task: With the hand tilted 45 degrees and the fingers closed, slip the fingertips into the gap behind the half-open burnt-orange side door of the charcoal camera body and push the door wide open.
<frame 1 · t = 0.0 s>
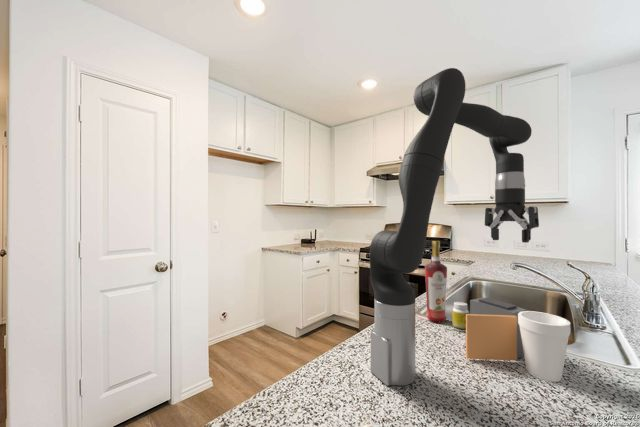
hand: (509, 241, 83), 29 cm above the countertop, tool pointing down, fingers open, 8 cm apart
supplement bottle: (460, 329, 89), on the countertop
liquor: (435, 320, 97), on the countertop
foam cup: (543, 374, 64), on the countertop
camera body: (497, 347, 76), on the countertop
side door: (491, 337, 69), point 6 cm above the countertop, hinge at 60.0°
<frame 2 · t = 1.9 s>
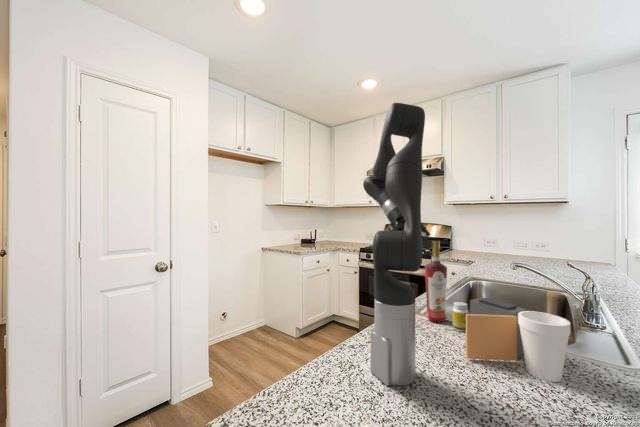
hand: (420, 248, 88), 27 cm above the countertop, tool tilted 45°, fingers open, 7 cm apart
nothing on the countertop moved.
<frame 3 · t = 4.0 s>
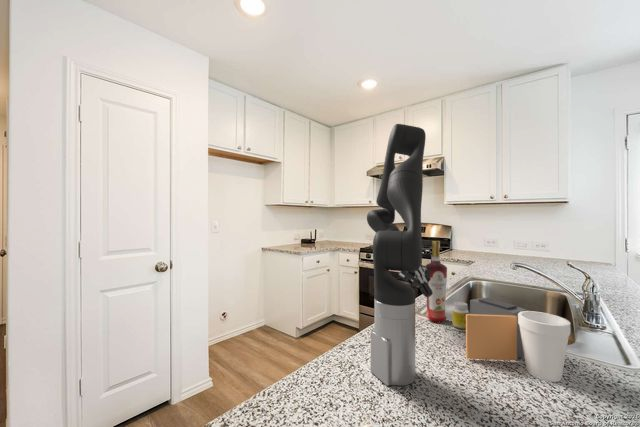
hand: (429, 295, 84), 12 cm above the countertop, tool tilted 45°, fingers closed
nothing on the countertop moved.
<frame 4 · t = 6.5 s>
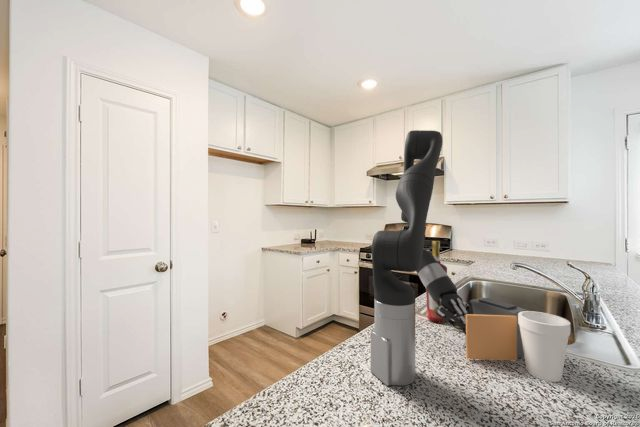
hand: (475, 339, 71), 5 cm above the countertop, tool tilted 45°, fingers closed
side door: (491, 337, 69), point 6 cm above the countertop, hinge at 60.2°, touching gripper
everything else where it was.
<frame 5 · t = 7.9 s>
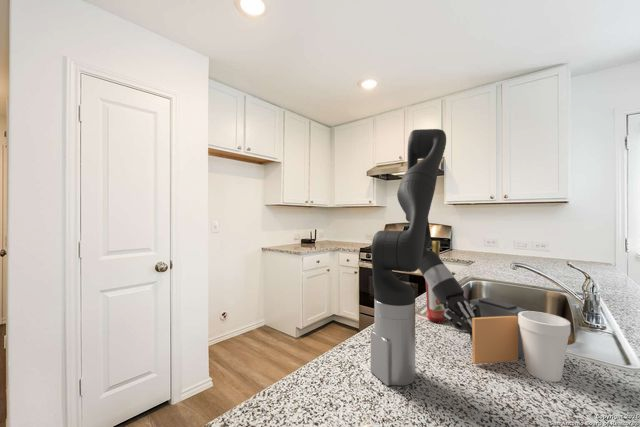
hand: (482, 343, 69), 5 cm above the countertop, tool tilted 45°, fingers closed
side door: (495, 339, 68), point 6 cm above the countertop, hinge at 72.8°, touching gripper
everything else where it was.
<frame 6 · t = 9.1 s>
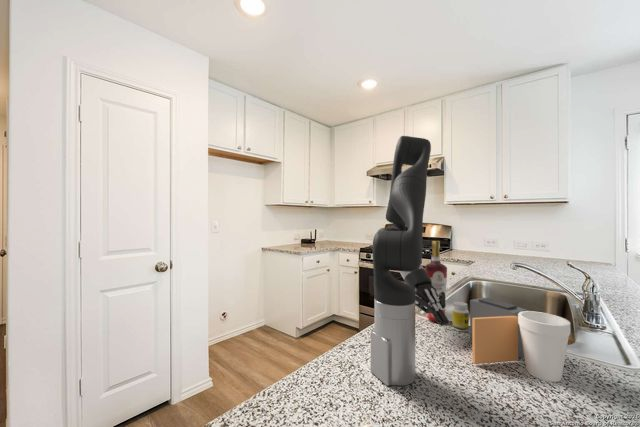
hand: (445, 324, 79), 5 cm above the countertop, tool tilted 45°, fingers closed
side door: (495, 339, 68), point 6 cm above the countertop, hinge at 72.8°
everything else where it was.
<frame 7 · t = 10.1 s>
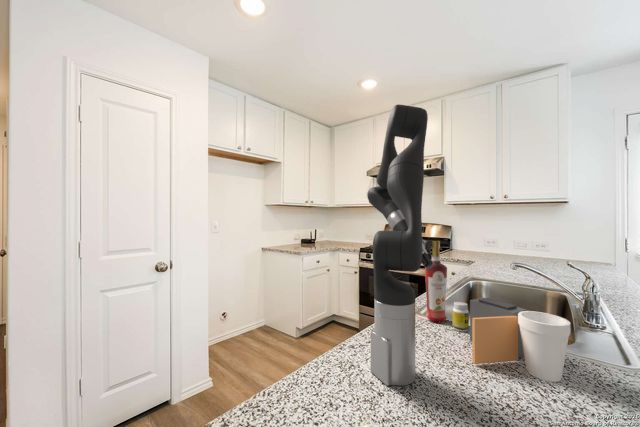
hand: (429, 265, 84), 21 cm above the countertop, tool tilted 45°, fingers closed
nothing on the countertop moved.
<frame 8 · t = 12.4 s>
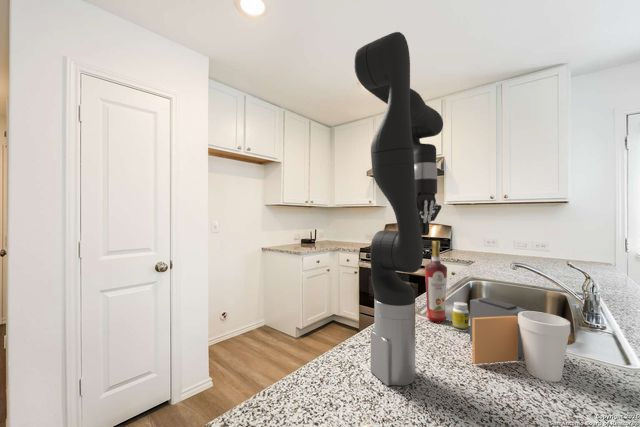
hand: (424, 235, 84), 31 cm above the countertop, tool pointing down, fingers closed
nothing on the countertop moved.
at the end: side door at +73° (first picture: +60°); foam cup moved 0.2 cm from its start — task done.
